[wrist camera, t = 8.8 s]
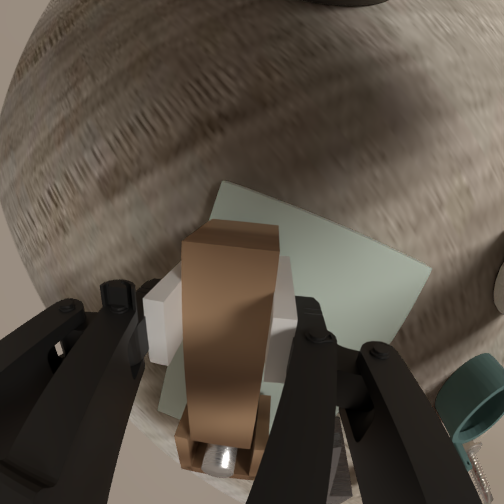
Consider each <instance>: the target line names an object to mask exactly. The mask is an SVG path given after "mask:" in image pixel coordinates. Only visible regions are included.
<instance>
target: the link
mask: <svg viewBox="0 0 504 504" xmlns="http://www.w3.org/2000/svg"><path fill="white" fill-rule="evenodd" d="M279 255H280V243H279V225H271V224H261V223H252V222H242V221H232V220H221V219H211V220H210V221H208V222H207V223H206V224H204V225H203V226H201V227H200V228H199V229H197V230H196V231H195V232H193V233H192V234H191V235H189V236H188V237H187V238H185V239H184V240H183V241H182V251H181V280H182V328H183V354H184V370H185V384H186V396H187V404H186V406H185V409H184V412H183V414H182V417H181V420H180V422H179V425H178V428H177V430H176V433H175V435H174V437H175V442H176V446H177V451H178V455H179V460H180V464H181V468H182V469H186V470H190V471H195V472H200V473H205V472H203V471H202V469H201V467H202V463H203V459H204V455H205V452H206V448H207V444H208V443H210V444H216V445H222V446H228V447H235V448H238V449H237V455H236V461H235V467H234V473H233V475H232V476H231V477H229V478H237V479H245V480H255V477H256V474H257V471H258V468H259V465H260V462H261V459H262V456H263V453H264V450H265V447H266V444H267V441H268V438H269V425H270V406H271V396H269V395H260V389H261V383H262V376H263V370H264V364H265V354H266V346H267V339H268V332H269V325H270V318H271V311H272V304H273V296H274V292H275V287H276V279H277V271H278V263H279ZM259 395H260V396H259ZM258 401H259V402H258ZM257 407H258V408H257ZM256 413H257V414H256ZM255 419H256V420H255ZM254 425H255V426H254ZM205 474H206V473H205Z"/></svg>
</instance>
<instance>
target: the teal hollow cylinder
mask: <svg viewBox="0 0 504 504" xmlns="http://www.w3.org/2000/svg"><path fill="white" fill-rule="evenodd" d="M435 408H436V410H437V412H438V414H439V416H440V417H441V419H442V421H443V423H444V425H445V427H446V429H447V431H448V433H449V436H450V439H451V441H452V443H453V444H454V446H455V448H456V450H457V452H458V454H459V456H460V458H461V460H462V462H463V464H464V465H465V467H466V469H467V472H468V471H469V470H471V469H472V464H471V462H470V460H469V458H468V455H467V453H466V451H465V449H464V447H463V445H462V444H464V443H467V442H469V441H471V440H473V439H475V438H477V437H479V436H480V435H482V434H483V433H484V432H486V431H487V430H488V429H490V428H491V427H492V426H493V425H494V424H495V423H496V422H497V421H498V420H499V419H500V418H501V417H502V416H503V415H504V368H503V367H502V366H501V365H500V364H499V362H498V361H497V360H496V359H495V358H494V357H493V356H492V355H490V354H489V353H484V354H480V355H478V356H475V357H474V358H472V359H470V360H469V361H467V362H466V363H465V364H463V365H462V366H461V367H460V368H459V369H457V370H456V371H455V372H454V373H453V374H452V375H451V377H450V378H449V379H448V380H447V381H446V383H445V384H444V385H443V387H442V388H441V390H440V391H439V393H438V395H437V398H436V401H435Z"/></svg>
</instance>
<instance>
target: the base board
mask: <svg viewBox="0 0 504 504" xmlns="http://www.w3.org/2000/svg"><path fill="white" fill-rule="evenodd" d="M211 219H221V220H232V221H242V222H252V223H261V224H271V225H279V243H280V256H289V257H290V264H291V271H292V278H293V286H294V294H295V296H305V297H313V298H315V299H316V300H317V301H318V302H319V303H320V307H321V311H322V313H323V317H324V320H325V324H326V327H327V330H328V331H330V332H332V333H333V334H334V335H335V336H336V339H337V344H338V345H340V346H342V347H345V348H349V349H353V350H357V351H360V348H361V346H362V345H363V344H364V343H366V342H369V341H381V342H383V343H384V342H385V343H387V344H389V345H390V343H391V342H392V340H393V338H394V337H395V335H396V334H397V332H398V331H399V329H400V327H401V326H402V324H403V322H404V321H405V319H406V317H407V316H408V314H409V312H410V310H411V309H412V307H413V305H414V303H415V301H416V300H417V298H418V296H419V294H420V292H421V290H422V288H423V286H424V284H425V283H426V281H427V279H428V277H429V275H430V272H431V270H432V268H430V267H429V266H428V265H426V264H425V263H423V262H421V261H419V260H417V259H415V258H413V257H411V256H409V255H407V254H405V253H403V252H401V251H398V250H396V249H394V248H392V247H390V246H388V245H386V244H383V243H381V242H379V241H377V240H375V239H373V238H370V237H368V236H366V235H364V234H361V233H359V232H357V231H355V230H352V229H350V228H348V227H345V226H343V225H341V224H338V223H336V222H334V221H331V220H329V219H326V218H324V217H322V216H319V215H317V214H314V213H312V212H309V211H307V210H304V209H302V208H299V207H297V206H294V205H292V204H289V203H287V202H284V201H281V200H279V199H276V198H274V197H271V196H268V195H266V194H263V193H260V192H257V191H255V190H252V189H249V188H246V187H244V186H241V185H238V184H235V183H232V182H229V181H227V180H225V181H222V183H221V186H220V189H219V192H218V194H217V197H216V200H215V203H214V206H213V209H212V212H211V215H210V218H209V221H210V220H211ZM264 367H265V364H264ZM263 379H264V370H263V376H262V383H261V389H260V395H269V396H271V406H270V425H269V434H270V431H271V428H272V425H273V421H274V418H275V414H276V411H277V408H278V404H279V401H280V397H281V393H282V390H283V386H284V384H283V383H272V382H263ZM260 395H259V396H260ZM258 402H259V401H258ZM186 404H187V396H186V384H185V370H184V354H183V340H182V342H181V344H180V346H179V348H178V349H177V351H176V353H175V355H174V357H173V359H172V361H171V363H170V364H169V366H167V370H166V374H165V379H164V383H163V387H162V392H161V396H160V401H159V405H158V410H157V411H160V412H162V413H165V414H167V415H169V416H172V417H175V418H177V419H180V420H181V417H182V414H183V412H184V409H185V406H186ZM257 408H258V407H257ZM338 412H339V407H338V406H336V415H337V414H338ZM256 414H257V413H256ZM336 415H335V416H336ZM255 420H256V419H255ZM254 426H255V425H254Z"/></svg>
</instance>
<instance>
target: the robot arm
mask: <svg viewBox="0 0 504 504" xmlns="http://www.w3.org/2000/svg"><path fill="white" fill-rule="evenodd" d="M301 1H307V2H313V3H320V4H330V5H344V6H359V5H370V4H376V3H381V2H384V1H387V0H301ZM100 291H101V298H102V305H103V307H102V308H101V310H100V311H99V312H98V313H97V312H85V311H84V306H83V303H82V302H81V301H79V300H77V299H73V298H70V299H69V298H67V299H64V300H61V301H59V302H56V303H55V304H53V305H52V306H50V307H49V308H47V309H45V310H44V311H42V312H41V313H39V314H38V315H37V316H35V317H33V318H32V319H30V320H29V321H27V322H26V323H24V324H23V325H21V326H20V327H19V328H17V329H16V330H14V331H13V332H11V333H10V334H8V335H7V336H6V337H4V338H3V339H1V340H0V504H107V501H108V496H109V492H110V487H111V483H112V479H113V474H114V471H115V467H116V463H117V459H118V455H119V451H120V447H121V444H122V440H123V436H124V433H125V429H126V426H127V422H128V419H129V416H130V412H131V409H132V406H133V403H134V399H135V396H136V393H137V390H138V387H139V384H140V381H141V378H142V375H143V372H144V369H145V362H144V356H145V355H146V353H147V352H148V351H149V358H150V362H153V363H157V364H161V365H165V366H169V364H170V363H171V361H172V359H173V357H174V355H175V353H176V351H177V349H178V348H179V346H180V344H181V342H182V340H183V328H182V280H181V261H180V262H179V263H178V264H177V265H176V266H175V267H174V268H173V269H172V270H171V271H170V272H169V273H168V274H167V275H166V276H165V277H164V278H163V279H162V280H161V279H152V280H150V281H147V282H146V283H144V284H143V285H142V286H141V288H139V289H138V290H137V291H136V290H135V285H134V283H132V282H130V281H127V280H110V281H107V282H104V283H103V284H101V285H100ZM59 341H60V344H61V347H62V350H63V354H62V355H60V356H58V354H57V352H56V349H55V345H56V344H57V343H58V342H59ZM263 382H272V383H283V384H284V386H283V390H282V393H281V397H280V401H279V404H278V408H277V411H276V414H275V418H274V421H273V425H272V428H271V431H270V434H269V438H268V441H267V444H266V447H265V450H264V453H263V456H262V459H261V462H260V465H259V468H258V471H257V474H256V477H255V480H254V482H253V485H252V488H251V491H250V493H249V496H248V499H247V501H246V504H326V501H327V495H328V488H329V480H330V472H331V463H332V454H333V443H334V430H335V415H336V406H338V407H339V413H340V416H341V420H342V423H343V427H344V431H345V434H346V438H347V442H348V446H349V449H350V453H351V457H352V461H353V465H354V469H355V473H356V477H357V481H358V485H359V489H360V493H361V498H362V502H363V504H482V502H481V499H480V498H479V495H478V493H477V491H476V489H475V486H474V484H473V482H472V480H471V478H470V476H469V474H468V472H467V469H466V467H465V465H464V464H463V462H462V460H461V458H460V456H459V454H458V452H457V450H456V448H455V446H454V444H453V443H452V441H451V439H450V437H449V435H448V433H447V432H446V430H445V428H444V426H443V425H442V423H441V421H440V419H439V418H438V416H437V414H436V412H435V411H434V409H433V407H432V406H431V404H430V402H429V401H428V399H427V397H426V396H425V394H424V392H423V391H422V389H421V388H420V386H419V384H418V383H417V381H416V380H415V378H414V376H413V375H412V373H411V372H410V370H409V369H408V367H407V365H406V364H405V362H404V361H403V359H402V358H401V356H400V355H399V353H398V352H397V351H396V350H395V349H394V348H393V347H392V346H390V345H389V344H387V343H385V342H384V343H383V342H381V341H369V342H366V343H364V344H363V345H362V346H361V348H360V351H357V350H353V349H349V348H345V347H342V346H340V345H338V344H337V339H336V336H335V335H334V334H333V333H332V332H330V331H328V330H327V327H326V324H325V320H324V317H323V313H322V311H321V307H320V303H319V302H318V301H317V300H316V299H315V298H313V297H305V296H295V294H294V286H293V278H292V271H291V264H290V257H289V256H280V255H279V263H278V271H277V279H276V287H275V292H274V296H273V304H272V311H271V318H270V325H269V332H268V339H267V346H266V354H265V367H264V379H263Z"/></svg>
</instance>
